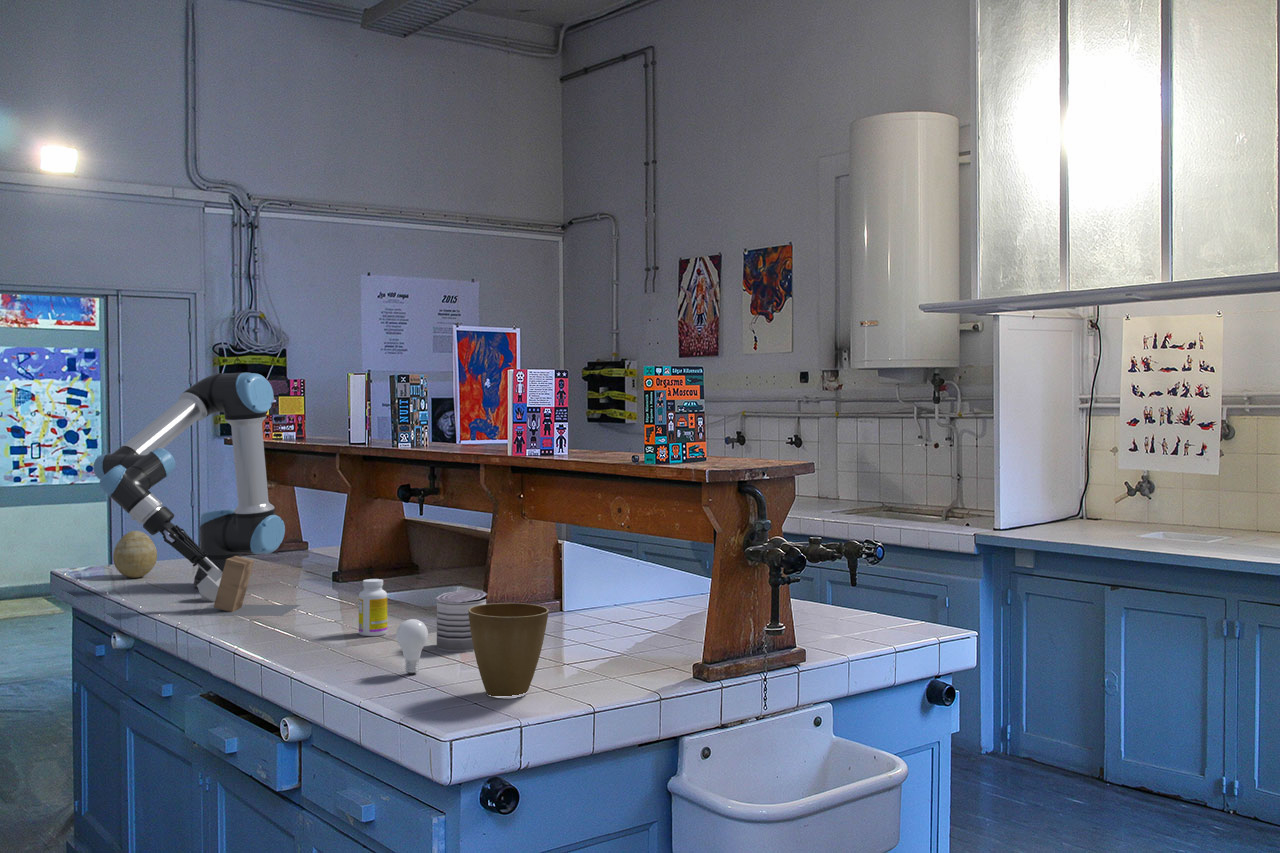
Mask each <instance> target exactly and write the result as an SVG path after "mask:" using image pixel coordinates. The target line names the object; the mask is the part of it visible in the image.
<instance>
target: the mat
mask: <svg viewBox="0 0 1280 853" xmlns="http://www.w3.org/2000/svg"><path fill="white" fill-rule="evenodd" d="M300 606H301V604H242V608H240V609H238V610H236V611H234V612H229V611H225V610H222V609H218V608H214V604H210V605H209V606H205V607H204V608H201V609H199V610H198V611H195V612H193V613H191V614H189V616H201V617H202V616H212V617H213V616H216V617H217V616H222V617H224V616H232V617H235V616H238V617H241V616H244V617H245V616H247V617H252V616H254V617H257V616H258V617H259V616H260V617H261V616H262V617H263V616H264V617H268V616H269V617H270V616H271V617H272V616H273V617H276V616H277V617H279V616H281V617H283V616H284V615H286V614H288V613H290V612H292V611H294V609H297V608H298V607H300Z"/></svg>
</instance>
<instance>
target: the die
mask: <svg viewBox="0 0 1280 853" xmlns="http://www.w3.org/2000/svg"><path fill="white" fill-rule="evenodd" d="M220 581H221V578H220V579H219V580H218V581H216V582H215V581H214V580H213V579H212V578H211V577H210V576H209V575H208V576H206V577H205V578H204V579H203V580H202V581H201V582H200V583H199V584H198V585H197V587H198V588H197V589H198V592H199V594H200V597H201V599H202V601H203V602H211V603H215V599H216V596H217V592H218V588H219V585H220Z"/></svg>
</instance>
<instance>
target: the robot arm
mask: <svg viewBox="0 0 1280 853" xmlns="http://www.w3.org/2000/svg"><path fill="white" fill-rule="evenodd" d="M274 398H275V396H274V389H273V387H272V384H271V383H270V382H269V380H268V379H266V378H265V376H263V375H262V374H259V373H255V372H253V373H252V372H233V373H232V372H231V373H227V372H226V373H224V372H222V373H214V374H211V375H207V376H206V377H204V378H202V379H201V380H199V381H197V382H196V383H194V384H193V385H191V386H190V387H188V388H187V389H186V390H184V391H183V392H182V393H180V395H179V396H178V399H177V401H176V402H175V403H174V404H173V405H172V406H170V407H169V408H168V409H167V410H166V411H164V412H163V413H162V414H161V415H159V416H158V417H157V418H155V419H154V420H152V422H150V423H149V424H148V425H146V426H145V427H144V428H142V430H140V431H139V432H138V433H137V434H135V435H134V436H132V437H131V438H130V439H129V440H128V441H127V442H125V443H124V444H123V445H122V446H120V447H119V448H117V450H115V451H114V452H112V453H110V452H108V453H105V454H104V453H103V454H100V455H98V456H97V457H96V459H94V462H93V466H92V467H93V473H94V476H96V478H97V479H99V487H100V488H101V489H102V490H103V491H104V492H105V493H106V495H107V496H108V497H109V498H111V499H112V500H113V501H114V502H115V503H116V504H118V506H120V507H121V509H123V510H124V511H125V512H127V514H129V515H130V516H131V517H130V519H131V520H132V521H136V522H137V523H138V524H141V525H142V528H143V529H145V531H146V532H148V533H149V535H151V536H155V535H156V534H158V533H160V535H162V538H163V541H164V543H167V544H168V545H169V546H171V547H172V548H173V549H175V550H176V551H177V552H178V553H179V554H180V555H182V556H183V557H184V558H186V559H187V560H188V561H189V562H190V563H191V564H193V565H192V566H193V567H197V570H196V572H195V576H194V578H193V587H194V589H195V588H196V589H198V587H197V585H198V584H199V583H200V582H201V581H202V580H203V579H204V578H205V577H206V576H208V575H209V576H210V577H211V578H212V579H213V580H214V581H215V582H216V581H218V580H219V579H220V578H221V577H222V573H223V570H224V566H225V562H226V559H228V558H231V557H234V556H239V557H242V554H243V553H244V554H254V555H263V554H264V555H268V554H272V553H274V552H276V550H277V549H279V547H280V545H281V544H282V543H283V540H284V537H285V533H286V526H285V522H284V520H283V519H282V518H281V517H280V515H279V516H278V515H277V514H276V511H275V510H276V509H275V506H274V505H273V504H271V503H270V501H269V489H268V478H267V469H266V457H265V444H264V434H263V422H264V421H265V420H266V419H267V412H268V411H269V410H270V409H271V407H272V406H273V405H272V404H273V402H274ZM218 413H223V414H224V419H225V420H224V421H225V422H226V423H228V424H229V425H230V426H231V428H230V429H231V438H232V448H233V460H234V471H235V473H234V474H235V483H236V493H237V503H238V504H237V506H236V507H235V508H231V509H223V510H213V511H212V510H211V511H205V512H203V513H202V514H201V516H200V524H199V539H200V540H199V545H198V544H197V543H196V542H195V541H194V540H193V539H192V538H191V536H189V535H188V534H187V532H186V531H185V529H184V528H181V527H180V526H179V525H178V524H177V525H175V524H173V523H172V522H171V521H172V520H173V519H174V518H175V514H174V512H173V511H171V510H170V509H169V508H168V507H167V506H165V505H164V506H163V504H164V503H163V502H161V500H159V498H158V497H156V496H155V495H154V494H153V493H152V492H151V491H150V489H151V488H153V487H155V485H157V484H158V483H160V482H161V481H163V480H164V479H165V478H168V476H169V475H170V474H171V473H172V472H173V471H174V470H175V468H176V460H175V459H174V456H173V455H172V454H171V452H170V451H168V450H167V449H165V448H166V447H167V446H169V444H170V443H171V442H173V441H174V440H175V439H176V438H177V437H179V436H180V435H182V434H183V432H184V431H186V430H187V429H188V428H190V427H191V426H192V425H193V424H194V423H196V422H197V421H204V419H207V417H209V416H211V415H213V414H218Z"/></svg>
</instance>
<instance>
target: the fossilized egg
mask: <svg viewBox="0 0 1280 853" xmlns="http://www.w3.org/2000/svg"><path fill="white" fill-rule="evenodd" d="M157 550H158V549H157V548H156V545H155V543H154V541H153V540H152V539H151V537H150V536H149V535H147V534H146V533H144V532H143V531H141V530H131V531H128V532H127V533H125V534H124V535H123V536H122V537H121V538H120V539H119V540H118V542H117V543H116V545H115V547H114V550H113V555H112V559H113V564H114V567H115V570H117V571H118V572H119V573H120V574H121V575H122V576H124V577H127V578H131V579H139V578H142V577H145V576H147V574H149V573H150V572H151V571H152V570H153V569H154V568H155V566H156V563H157V560H158V551H157Z"/></svg>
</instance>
